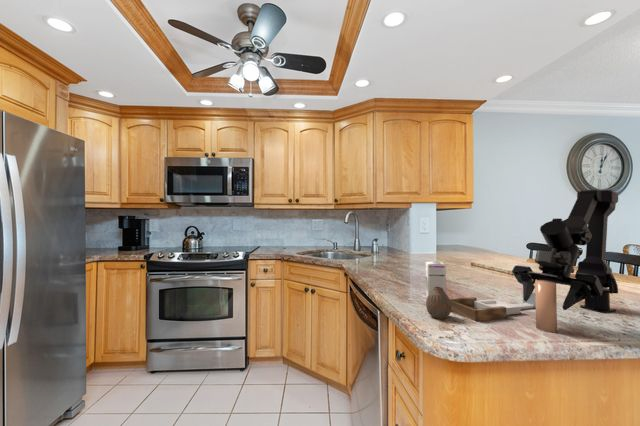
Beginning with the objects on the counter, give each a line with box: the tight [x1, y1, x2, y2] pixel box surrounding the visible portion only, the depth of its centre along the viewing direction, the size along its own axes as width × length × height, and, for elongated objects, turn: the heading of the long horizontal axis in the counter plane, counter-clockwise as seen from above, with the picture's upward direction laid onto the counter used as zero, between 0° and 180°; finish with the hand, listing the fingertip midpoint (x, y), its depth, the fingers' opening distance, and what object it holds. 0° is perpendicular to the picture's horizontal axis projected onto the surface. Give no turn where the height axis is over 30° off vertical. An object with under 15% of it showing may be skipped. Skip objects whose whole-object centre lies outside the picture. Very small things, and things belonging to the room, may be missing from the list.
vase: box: [425, 287, 452, 320], centre depth 85 cm, size 7×7×9 cm
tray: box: [473, 292, 536, 316], centre depth 93 cm, size 20×9×4 cm, turn 106°
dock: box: [449, 296, 507, 322], centre depth 88 cm, size 12×12×3 cm
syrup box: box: [424, 261, 447, 301], centre depth 96 cm, size 6×6×14 cm
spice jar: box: [534, 280, 558, 333], centre depth 75 cm, size 4×4×12 cm
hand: (543, 304), depth 75 cm, fingers open, 8 cm apart
